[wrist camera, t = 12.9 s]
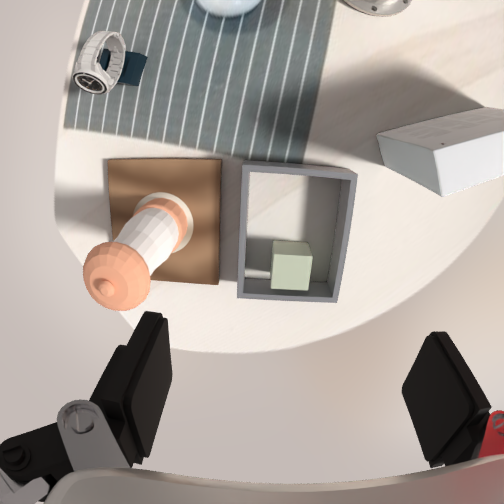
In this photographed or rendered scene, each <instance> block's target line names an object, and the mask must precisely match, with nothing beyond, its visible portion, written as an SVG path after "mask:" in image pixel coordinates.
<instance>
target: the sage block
mask: <svg viewBox="0 0 504 504" xmlns="http://www.w3.org/2000/svg"><path fill="white" fill-rule="evenodd" d="M312 259H313V255H312V253H311V250H310V247H309V244H308V242H293V241H277V240H273V245H272V257H271V269H270V278H271V289H289V290H308V287H309V280H310V273H311V266H312Z"/></svg>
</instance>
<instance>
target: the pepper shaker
mask: <svg viewBox="0 0 504 504" xmlns="http://www.w3.org/2000/svg"><path fill="white" fill-rule="evenodd" d="M187 227H188V223H187V217H186V215H185V213H184V211H183V209H182V208H181V207H180V206H179V205H178V204H177V203H175V202H174V201H172V200H170V199H166V198H155V199H153V200H151V201H148V202H147V203H146V204H144V205H143V206H142V207H141V208H139V209H138V210H137V211H136V212H135V213H134V215H133V217H132V218H131V219H130V220H129V221H128V222H127V223H126V224H125V226H124V227H123V229H122V230H121V232H120V234H119V235H118V237H117V238H116V239H115V240H114V241H113V242H105V243H102V244H100V245H97V246H95V247H94V248H93V249H92V250H91V251H90V252H89V253H88V255H87V258H86V260H85V263H84V266H83V277H84V282H85V285H86V288H87V290H88V292H89V293H90V295H91V297H92V298H93V299H94V300H95V301H96V302H97V303H99V304H100V305H102V306H104V307H105V308H108V309H111V310H117V311H127V310H130V309H133V308H135V307H137V306H138V305H139V304H141V303H142V302H143V301H144V300H145V299H146V297H147V295H148V293H149V290H150V282H151V278H150V276H151V274H152V273H153V271H154V270H155V269H156V268H157V267H158V266H160V265H161V264H162V263H163V262H164V261H165V260H167V259H168V257H169V255H170V254H171V253H172V252H173V251H175V250H176V249H177V248H178V246H179V244H180V243H181V241H182V240H183V238H184V236H185V234H186V232H187Z"/></svg>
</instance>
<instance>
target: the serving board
mask: <svg viewBox="0 0 504 504" xmlns="http://www.w3.org/2000/svg"><path fill="white" fill-rule="evenodd" d="M221 164H222V159H188V158H147V159H111V160H108V182H109V199H110V212H111V224H112V235H113V241H114V240H115V239H116V238H117V237H118V235H119V234H120V232H121V230H122V229H123V227H124V226H125V224H126V223H127V222H128V221H129V220H130V219H131V218H132V217H133V215H134V213H135V212H136V211H137V210H138V209H139V208H141V207H142V206H143V205H144V204H146V203H147V202H148V201H151V200H153V199H155V198H166V199H170V200H172V201H174V202H175V203H177V204H178V205H179V206H180V207H181V208H182V209H183V211H184V213H185V215H186V217H187V223H188V227H187V232H186V234H185V236H184V238H183V240H182V241H181V243H180V244H179V246H178V248H177V249H176V250H175V251H173V252H172V253H171V254H170V255H169V257H168V259H167V260H165V261H164V262H163V263H162V264H161V265H160V266H158V267H157V268H156V269H155V270H154V271H153V273H152V274H151V276H150V278H151V280H158V281H170V282H183V283H196V284H210V285H218V284H219V245H220V197H221Z"/></svg>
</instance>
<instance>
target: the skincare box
mask: <svg viewBox="0 0 504 504" xmlns="http://www.w3.org/2000/svg"><path fill="white" fill-rule="evenodd" d="M377 140H378V144H379V148H380V152H381V155H382V159H383V162H384V165H385V167H387V168H389V169H391V170H393V171H395V172H397V173H399V174H401V175H403V176H405V177H407V178H409V179H411V180H413V181H415V182H416V183H418V184H420V185H422V186H424V187H426V188H427V189H429V190H431V191H433V192H435V193H436V194H438V195H440V196H441V197H444V196H447V195H450V194H453V193H456V192H459V191H461V190H464V189H467V188H470V187H473V186H476V185H478V184H481V183H484V182H487V181H490V180H492V179H495V178H498V177H501V176H504V110H502V109H496V108H489V107H483V108H479V109H474V110H469V111H464V112H460V113H456V114H451V115H447V116H443V117H438V118H434V119H430V120H426V121H422V122H418V123H415V124H411V125H407V126H403V127H400V128H396V129H392V130H388V131H385V132H381V133H378V134H377Z"/></svg>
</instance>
